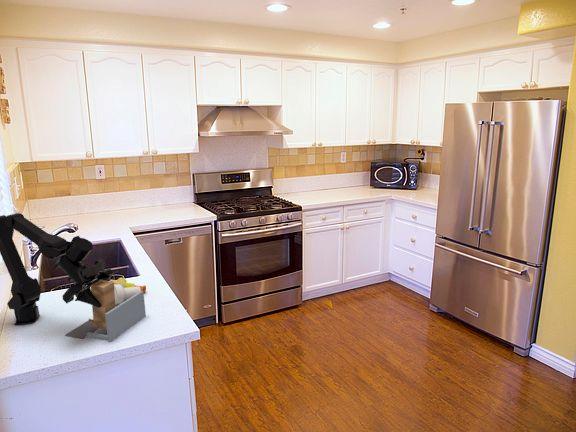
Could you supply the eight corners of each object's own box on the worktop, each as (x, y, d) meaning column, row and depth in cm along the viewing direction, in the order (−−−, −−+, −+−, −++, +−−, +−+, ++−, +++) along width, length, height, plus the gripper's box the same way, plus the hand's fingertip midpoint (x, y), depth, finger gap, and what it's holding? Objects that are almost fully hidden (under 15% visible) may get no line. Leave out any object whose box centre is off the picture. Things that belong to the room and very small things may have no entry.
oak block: (84, 324, 140) (80, 283, 137) (94, 317, 145) (91, 278, 141) (106, 329, 138) (103, 287, 134) (116, 322, 143) (113, 282, 139)
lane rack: (85, 338, 138) (81, 310, 135) (122, 313, 155) (120, 288, 153) (110, 342, 135) (107, 314, 133) (145, 316, 153) (143, 291, 150)
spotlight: (105, 299, 165) (108, 281, 163) (132, 296, 173) (136, 278, 171) (113, 309, 159) (117, 290, 158) (141, 305, 168) (145, 287, 166)
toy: (118, 275, 181) (107, 281, 171) (151, 279, 180) (142, 285, 170) (117, 287, 181) (106, 294, 171) (150, 291, 181) (141, 298, 171)
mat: (64, 336, 139) (64, 335, 139) (90, 320, 150) (90, 319, 150) (82, 339, 137) (82, 338, 137) (107, 322, 148) (107, 321, 148)
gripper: (64, 264, 128) (98, 301, 127) (106, 246, 145) (136, 279, 145) (48, 285, 132) (80, 321, 131) (90, 265, 149) (119, 297, 148)
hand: (106, 303), depth 139 cm, fingers closed on oak block, 5 cm apart
